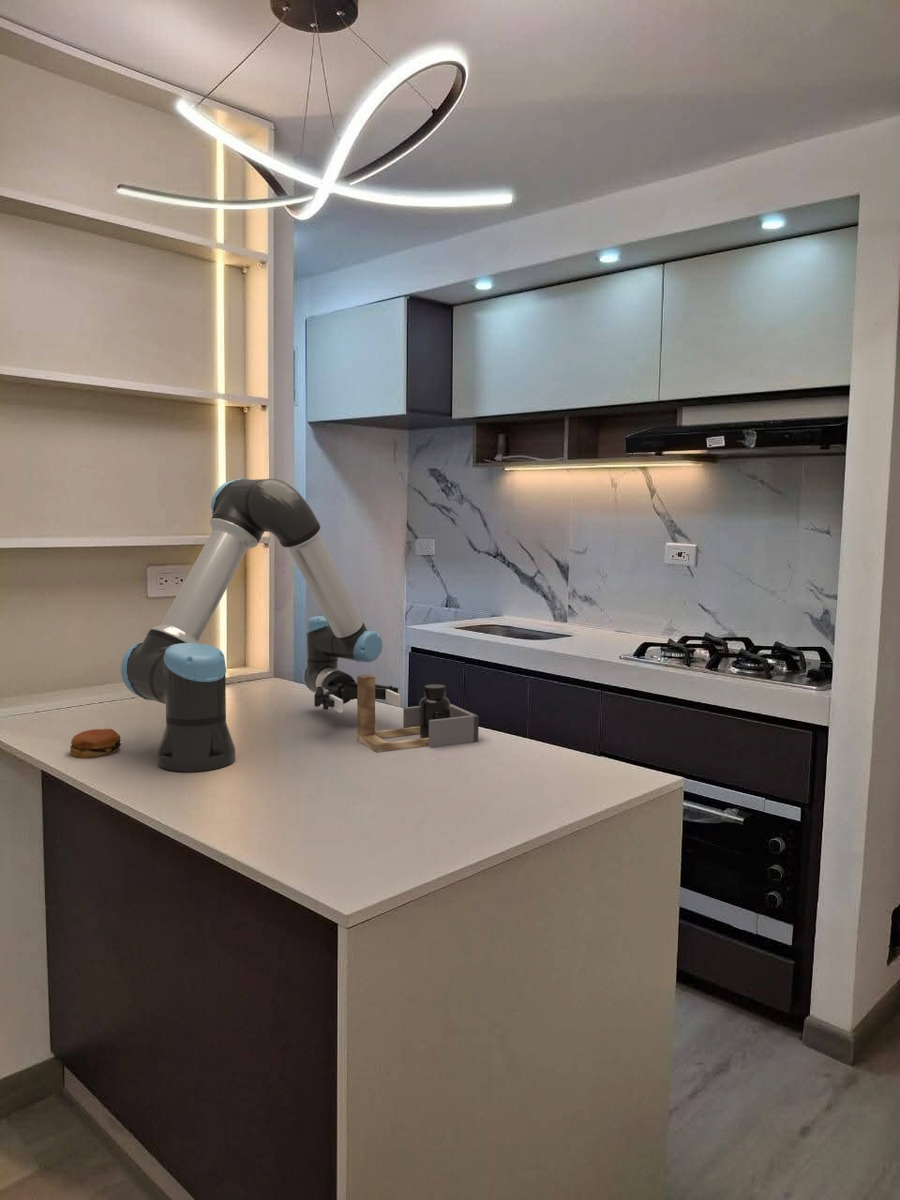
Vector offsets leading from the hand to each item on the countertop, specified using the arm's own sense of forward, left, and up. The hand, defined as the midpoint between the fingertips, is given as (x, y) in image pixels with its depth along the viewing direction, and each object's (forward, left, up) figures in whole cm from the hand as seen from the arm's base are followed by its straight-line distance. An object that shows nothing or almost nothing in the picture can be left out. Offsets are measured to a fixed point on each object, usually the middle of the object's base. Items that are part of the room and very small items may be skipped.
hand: (370, 703), depth 194 cm
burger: (-4, +57, -9) cm, 58 cm away
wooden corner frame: (+2, -9, -9) cm, 13 cm away
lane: (+4, -16, -9) cm, 19 cm away
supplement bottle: (+4, -14, -9) cm, 17 cm away
